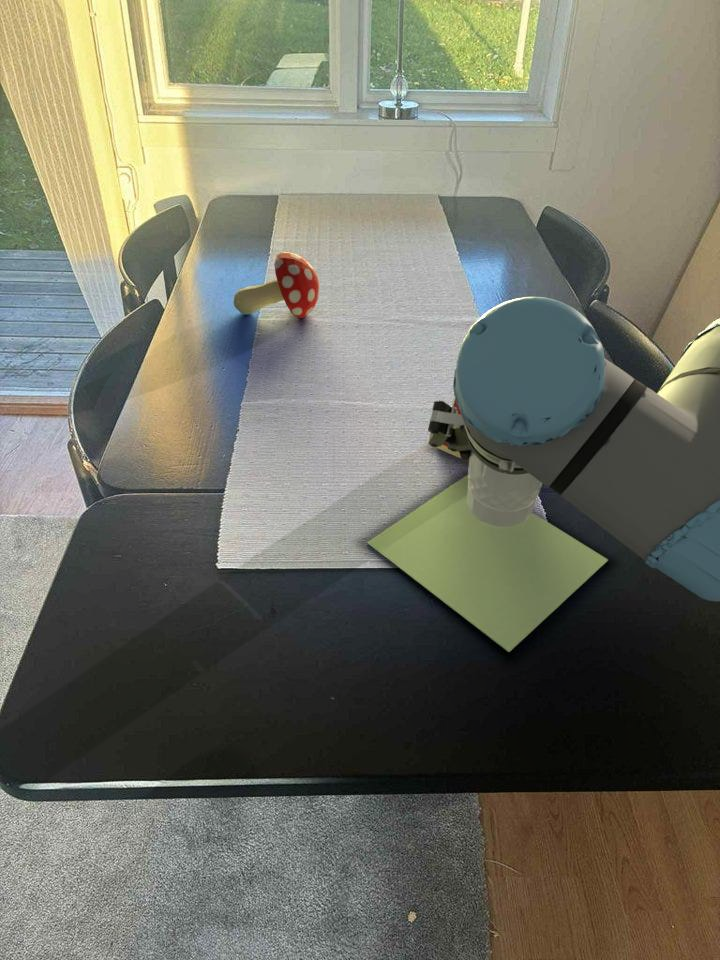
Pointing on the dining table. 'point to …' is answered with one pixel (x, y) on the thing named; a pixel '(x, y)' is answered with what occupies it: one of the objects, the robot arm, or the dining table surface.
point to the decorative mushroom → (283, 288)
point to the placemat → (488, 564)
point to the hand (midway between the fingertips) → (509, 457)
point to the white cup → (500, 494)
